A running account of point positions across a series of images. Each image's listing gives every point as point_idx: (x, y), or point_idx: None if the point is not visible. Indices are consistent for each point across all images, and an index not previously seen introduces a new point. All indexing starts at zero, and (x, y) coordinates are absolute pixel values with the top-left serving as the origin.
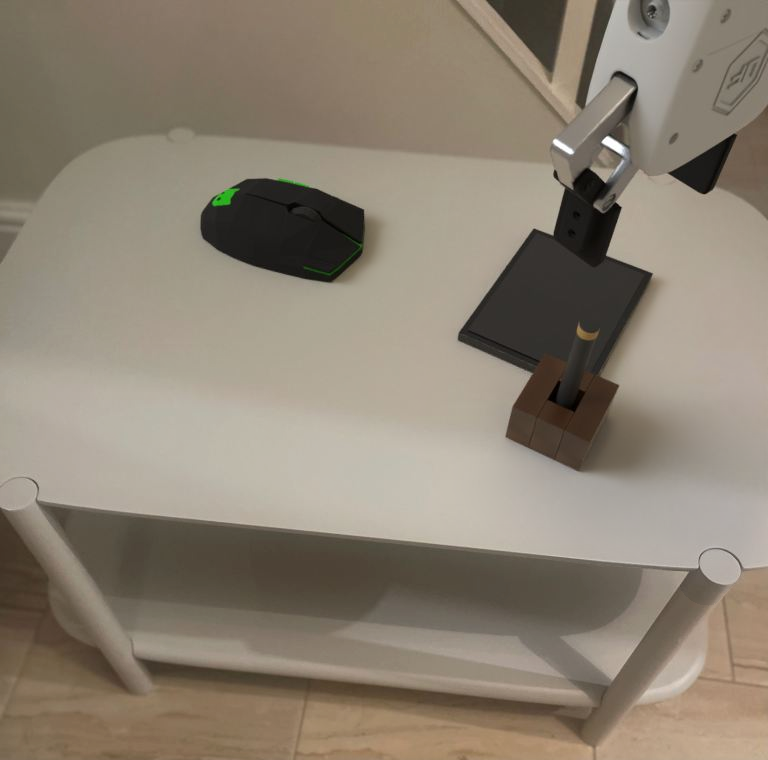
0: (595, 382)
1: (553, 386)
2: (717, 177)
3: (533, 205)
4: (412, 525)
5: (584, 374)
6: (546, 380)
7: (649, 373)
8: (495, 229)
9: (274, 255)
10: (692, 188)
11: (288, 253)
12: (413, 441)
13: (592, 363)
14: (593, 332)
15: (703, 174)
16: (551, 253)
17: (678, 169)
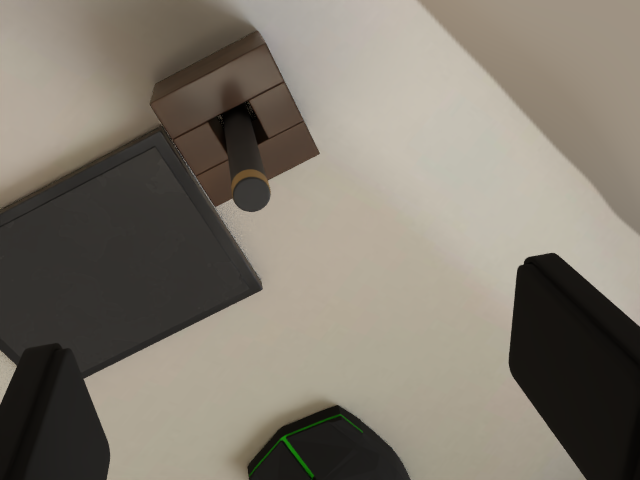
0: (182, 127)
1: None
2: (19, 382)
3: None
4: (482, 85)
5: (187, 148)
6: None
7: (38, 111)
8: (97, 410)
9: (382, 454)
10: (80, 374)
11: (371, 453)
12: (404, 181)
13: (125, 167)
14: (258, 177)
15: (63, 407)
16: None
17: (93, 443)
